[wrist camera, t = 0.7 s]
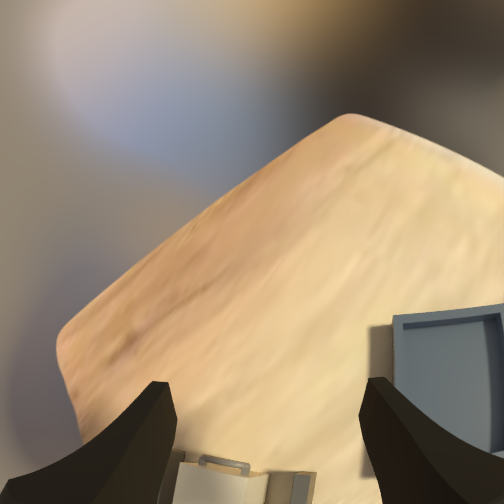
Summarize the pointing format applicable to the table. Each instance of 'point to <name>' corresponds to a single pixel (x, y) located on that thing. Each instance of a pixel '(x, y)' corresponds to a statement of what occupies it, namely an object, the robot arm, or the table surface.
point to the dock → (301, 484)
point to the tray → (455, 370)
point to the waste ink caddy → (219, 483)
